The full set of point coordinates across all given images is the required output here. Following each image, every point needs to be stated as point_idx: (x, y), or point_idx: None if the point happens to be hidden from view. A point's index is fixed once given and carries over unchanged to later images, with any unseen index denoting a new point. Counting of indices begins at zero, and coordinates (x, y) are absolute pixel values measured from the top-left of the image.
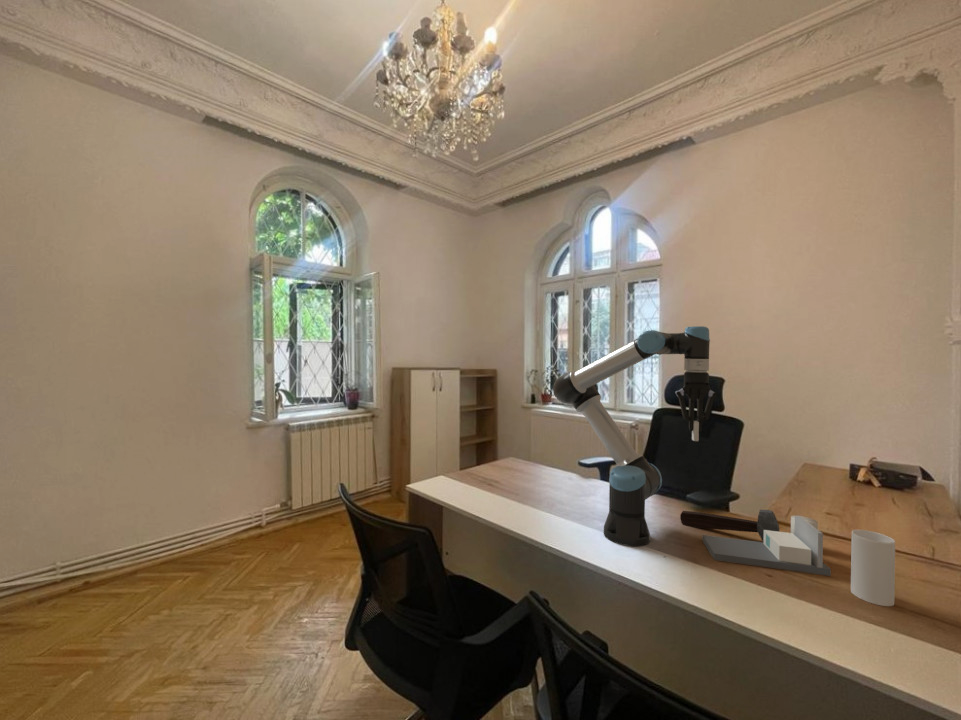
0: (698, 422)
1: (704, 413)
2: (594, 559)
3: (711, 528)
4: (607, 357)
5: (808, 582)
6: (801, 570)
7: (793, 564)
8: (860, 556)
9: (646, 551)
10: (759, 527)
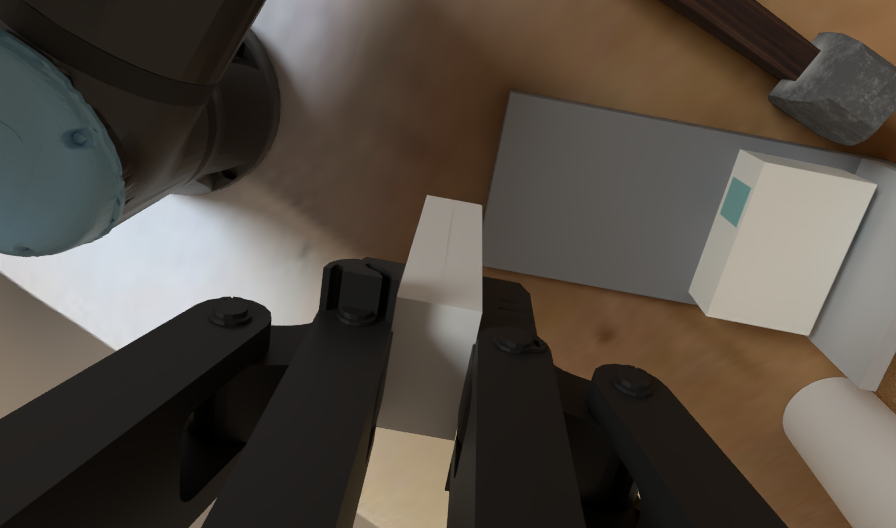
0: (448, 434)
1: (633, 471)
2: (65, 298)
3: None
4: None
5: (703, 362)
6: None
7: None
8: (845, 512)
9: (247, 220)
10: (784, 102)
